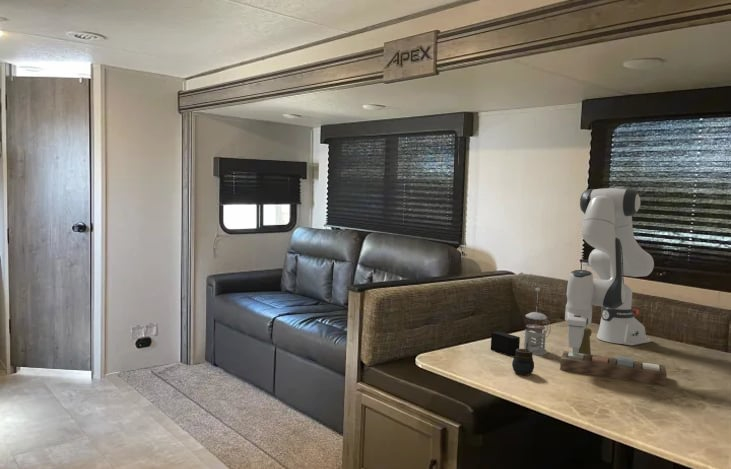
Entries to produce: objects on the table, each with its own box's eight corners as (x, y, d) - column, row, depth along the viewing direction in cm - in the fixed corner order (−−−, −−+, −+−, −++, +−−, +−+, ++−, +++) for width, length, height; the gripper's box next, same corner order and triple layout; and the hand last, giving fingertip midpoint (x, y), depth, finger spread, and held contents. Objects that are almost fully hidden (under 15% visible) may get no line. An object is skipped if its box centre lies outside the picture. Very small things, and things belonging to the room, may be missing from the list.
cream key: (642, 373, 194) (643, 366, 194) (642, 369, 198) (642, 362, 198) (659, 376, 192) (659, 368, 192) (658, 372, 196) (658, 364, 196)
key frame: (560, 369, 202) (560, 358, 202) (563, 361, 212) (563, 350, 212) (665, 386, 188) (666, 374, 188) (663, 376, 198) (664, 365, 198)
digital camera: (521, 354, 219) (522, 336, 219) (512, 356, 216) (513, 338, 215) (499, 347, 228) (500, 330, 227) (490, 349, 224) (491, 332, 224)
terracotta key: (591, 365, 200) (591, 358, 200) (592, 362, 205) (592, 355, 205) (607, 368, 198) (607, 361, 198) (607, 364, 203) (608, 357, 203)
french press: (515, 348, 227) (519, 285, 225) (539, 346, 232) (543, 284, 230) (532, 355, 218) (536, 290, 216) (556, 353, 223) (560, 289, 221)
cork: (592, 358, 217) (594, 330, 216) (575, 357, 218) (577, 328, 217) (589, 354, 223) (591, 326, 222) (573, 352, 224) (575, 324, 223)
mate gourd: (510, 375, 194) (512, 345, 194) (512, 368, 201) (514, 340, 201) (532, 378, 192) (534, 348, 191) (534, 371, 199) (536, 343, 198)
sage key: (567, 362, 204) (567, 355, 203) (568, 358, 208) (569, 351, 208) (582, 364, 202) (582, 357, 201) (583, 360, 206) (583, 354, 206)
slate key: (616, 366, 197) (617, 359, 197) (617, 362, 202) (617, 355, 201) (632, 369, 195) (633, 361, 195) (632, 365, 200) (633, 358, 199)
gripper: (571, 310, 214) (569, 346, 215) (566, 320, 196) (563, 360, 197) (589, 312, 212) (587, 348, 213) (585, 323, 193) (583, 363, 194)
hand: (575, 354), depth 205 cm, fingers closed, pressing on sage key
